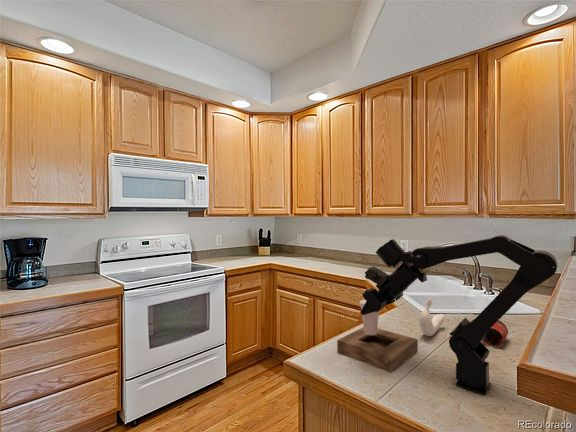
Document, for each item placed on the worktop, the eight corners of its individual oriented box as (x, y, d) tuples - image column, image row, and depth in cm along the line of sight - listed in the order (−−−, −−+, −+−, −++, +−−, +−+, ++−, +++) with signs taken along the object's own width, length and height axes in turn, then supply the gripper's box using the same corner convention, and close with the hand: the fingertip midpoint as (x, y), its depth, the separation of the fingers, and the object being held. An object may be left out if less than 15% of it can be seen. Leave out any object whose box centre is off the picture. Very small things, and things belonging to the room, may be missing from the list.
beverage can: (509, 340, 108) (509, 320, 108) (503, 351, 99) (503, 330, 99) (485, 334, 112) (485, 316, 112) (477, 344, 104) (477, 324, 104)
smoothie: (370, 328, 101) (369, 285, 101) (385, 334, 96) (384, 288, 96) (355, 332, 98) (354, 287, 98) (370, 338, 92) (369, 291, 93)
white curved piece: (445, 328, 118) (445, 290, 118) (431, 344, 104) (431, 300, 104) (431, 325, 121) (431, 288, 122) (416, 341, 107) (416, 298, 107)
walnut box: (417, 351, 98) (417, 339, 98) (391, 372, 85) (391, 357, 85) (366, 336, 111) (366, 325, 111) (337, 352, 98) (337, 340, 98)
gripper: (392, 255, 102) (362, 285, 109) (368, 262, 87) (334, 296, 94) (418, 282, 97) (384, 312, 104) (396, 294, 82) (359, 327, 89)
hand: (366, 311), depth 98 cm, fingers closed on smoothie, 6 cm apart
